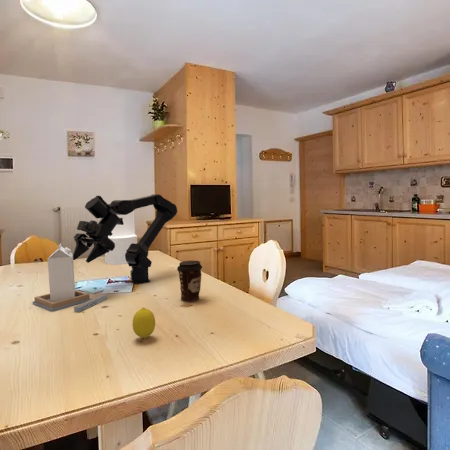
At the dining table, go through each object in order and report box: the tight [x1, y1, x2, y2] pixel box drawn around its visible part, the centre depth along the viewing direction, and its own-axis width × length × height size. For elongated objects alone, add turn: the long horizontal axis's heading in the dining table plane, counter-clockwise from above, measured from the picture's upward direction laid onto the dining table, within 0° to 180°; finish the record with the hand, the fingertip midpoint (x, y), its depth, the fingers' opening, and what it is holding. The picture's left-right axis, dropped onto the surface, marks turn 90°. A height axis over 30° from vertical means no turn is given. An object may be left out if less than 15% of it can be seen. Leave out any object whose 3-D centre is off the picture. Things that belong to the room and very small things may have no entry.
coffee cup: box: [176, 260, 203, 303], centre depth 115 cm, size 9×8×13 cm
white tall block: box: [104, 210, 138, 266], centre depth 184 cm, size 17×17×28 cm
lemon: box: [132, 307, 156, 340], centre depth 84 cm, size 6×6×8 cm
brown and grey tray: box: [31, 289, 93, 313], centre depth 115 cm, size 14×14×2 cm
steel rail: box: [73, 293, 108, 313], centre depth 112 cm, size 14×2×2 cm, turn 164°
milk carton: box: [47, 242, 76, 302], centre depth 115 cm, size 7×7×19 cm
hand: (79, 260), depth 120 cm, fingers open, 9 cm apart
